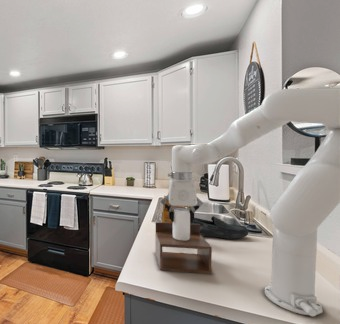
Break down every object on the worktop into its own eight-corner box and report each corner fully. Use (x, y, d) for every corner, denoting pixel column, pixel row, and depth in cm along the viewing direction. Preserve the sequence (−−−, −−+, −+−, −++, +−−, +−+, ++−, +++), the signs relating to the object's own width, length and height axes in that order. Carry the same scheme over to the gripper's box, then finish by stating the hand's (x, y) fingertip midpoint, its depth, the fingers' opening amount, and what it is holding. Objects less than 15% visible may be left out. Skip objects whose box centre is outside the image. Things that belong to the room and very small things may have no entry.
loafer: (252, 241, 110) (252, 221, 109) (190, 238, 114) (190, 218, 114) (241, 233, 120) (241, 215, 120) (184, 231, 125) (185, 213, 124)
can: (172, 240, 87) (173, 209, 86) (172, 234, 93) (172, 206, 92) (190, 242, 85) (191, 211, 84) (189, 236, 91) (189, 207, 90)
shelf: (211, 274, 81) (211, 236, 80) (160, 270, 84) (160, 233, 83) (199, 256, 95) (199, 223, 94) (155, 253, 98) (155, 222, 97)
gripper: (160, 177, 85) (160, 223, 86) (208, 177, 83) (208, 225, 83) (157, 175, 93) (157, 217, 94) (202, 175, 90) (201, 219, 91)
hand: (181, 220), depth 88 cm, fingers closed on can, 6 cm apart
